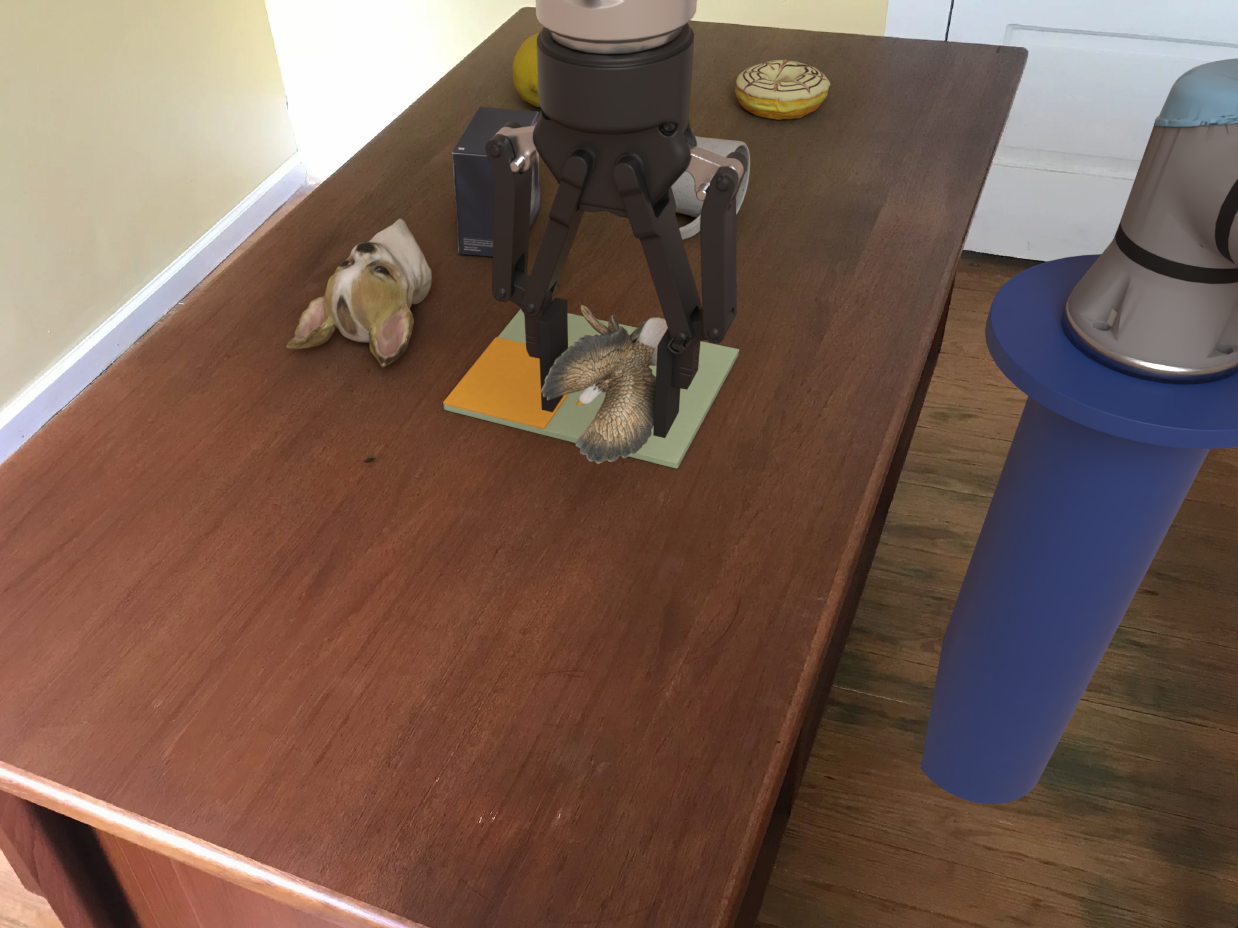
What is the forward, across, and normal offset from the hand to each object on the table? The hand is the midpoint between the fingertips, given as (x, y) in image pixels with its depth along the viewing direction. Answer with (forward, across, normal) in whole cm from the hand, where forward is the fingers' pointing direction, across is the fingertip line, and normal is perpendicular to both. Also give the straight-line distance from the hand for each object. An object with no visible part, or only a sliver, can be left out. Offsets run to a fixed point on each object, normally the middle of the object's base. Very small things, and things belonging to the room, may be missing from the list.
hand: (609, 410), depth 68 cm
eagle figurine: (0, 0, 0) cm, 1 cm away
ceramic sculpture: (+13, -29, +19) cm, 37 cm away
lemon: (+13, -33, +69) cm, 78 cm away
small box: (+13, -26, +39) cm, 49 cm away
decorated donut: (+13, -7, +77) cm, 78 cm away
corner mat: (+13, -8, +19) cm, 24 cm away
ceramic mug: (+13, -9, +48) cm, 50 cm away
